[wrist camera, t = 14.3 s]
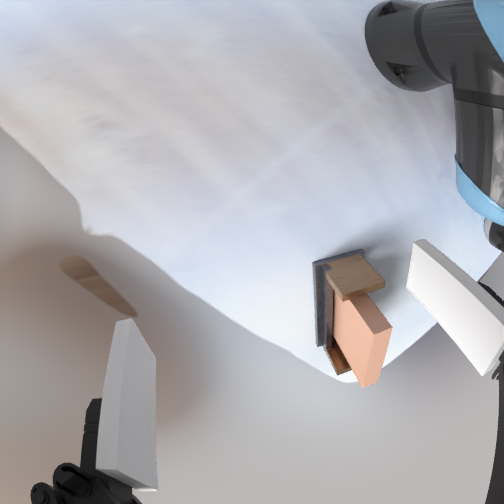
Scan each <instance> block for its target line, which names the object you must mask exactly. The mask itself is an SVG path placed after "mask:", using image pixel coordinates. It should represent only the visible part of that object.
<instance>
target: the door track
mask: <svg viewBox="0 0 504 504" xmlns="http://www.w3.org/2000/svg"><path fill="white" fill-rule="evenodd" d="M312 265H313V281H314V301H315V327H316V345H317V347H319V346H323V348H324V350H325V352H326V354H327V356H328V358H329V360H330V362H331V364H332V366H333V368H334V370H335V372H336V374H337V375H340V374H342V373H345V372H348V371H350V370H352V368H351V367H350V365H349V363H348V361H347V359H346V357H345V356H344V354H343V352H342V350H341V348H340V347H339V345H338V343H337V341H336V339H335V338H334V336H333V334H332V321H333V289H334V290H335V292H336V293H337V295H338V296H339V298H340V299H341V300H342V302H343V301H346V300H349V299H352V298H355V297H358V296H361V295H364V294H367V293H370V292H373V291H376V290H378V289H381V288H384V286H385V280H384V279H383V278H382V277H381V276H380V275H379V274H378V273H377V272H376V270H375V269H374V268H373V267H372V266H371V265H370V264H369V263H368V262H367V261H366V260H365V259H364V251H363V250H362V249H359V250H356V251H352V252H349V253H346V254H342V255H338V256H335V257H331V258H328V259H324V260H321V261H317V262H313V263H312Z"/></svg>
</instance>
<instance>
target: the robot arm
mask: <svg viewBox="0 0 504 504" xmlns="http://www.w3.org/2000/svg"><path fill="white" fill-rule="evenodd" d="M365 39H366V44H367V48H368V51H369V53H370V56H371V58H372V60H373V62H374V63H375V65H376V67H377V68H378V69H379V71H380V72H381V73H382V74H383V76H384V77H385V78H386V79H388V80H389V81H390V82H391V83H392V84H394V85H396V86H397V87H399V88H402V89H404V90H409V91H419V92H422V91H429V90H432V89H434V88H437V87H440V86H443V85H446V84H448V83H452V85H453V93H454V104H455V120H456V154H455V163H456V184H457V188H458V191H459V193H460V195H461V196H462V198H463V199H464V200H465V201H466V203H467V204H468V205H469V206H470V207H471V208H472V209H474V210H475V211H476V212H477V213H479V214H480V215H482V216H483V217H485V218H487V219H489V220H491V221H492V222H495V223H497V224H499V225H502V226H504V0H445V1H439V2H433V3H428V4H423V3H417V2H411V1H405V0H391V1H387V2H384V3H381V4H379V5H377V6H375V7H374V8H373V9H372V10H371V11H370V13H369V15H368V17H367V20H366V24H365ZM406 288H407V289H408V290H409V291H410V292H411V293H412V294H413V295H414V296H415V297H416V298H417V299H418V300H419V302H420V303H421V304H422V305H423V306H424V307H425V308H426V309H427V310H428V311H429V313H430V314H431V315H432V316H433V317H434V318H435V319H436V321H437V322H438V323H439V324H440V325H441V326H442V327H443V329H444V330H445V331H446V332H447V333H448V334H449V336H450V337H451V338H452V339H453V340H454V342H455V343H456V344H457V345H458V346H459V348H460V349H461V350H462V351H463V353H464V354H465V355H466V356H467V357H468V359H469V360H470V361H471V363H472V364H473V365H474V366H475V368H476V369H477V370H478V372H479V373H480V374H481V376H483V375H484V374H485V373H487V372H488V371H489V370H491V369H492V368H493V366H494V365H495V363H496V362H497V360H498V359H499V360H500V362H501V363H500V364H499V366H498V367H497V369H496V370H495V372H494V373H493V375H492V379H494V378H495V376H496V375H497V374H498V372H499V375H498V376H497V378H496V379H497V380H499V417H498V431H497V442H496V450H495V457H494V464H493V470H492V475H491V480H490V485H489V490H488V494H487V498H486V502H485V504H504V301H502V299H501V298H500V297H499V296H498V295H496V293H495V292H494V291H493V290H492V289H491V288H490V287H488V286H486V285H484V284H482V283H480V282H478V283H477V282H476V281H475V280H474V279H472V278H471V277H470V276H469V275H468V274H467V273H466V272H465V271H463V270H462V269H461V268H460V267H459V266H457V265H456V264H455V263H454V262H453V261H452V260H450V259H449V258H448V257H447V256H445V255H444V254H443V253H442V252H441V251H439V250H438V249H437V248H436V247H434V246H433V245H432V244H430V243H429V242H428V241H427V240H425V239H422V240H419V241H416V242H413V248H412V255H411V261H410V267H409V273H408V279H407V284H406ZM155 382H156V358H155V356H154V355H153V353H152V351H151V350H150V348H149V347H148V345H147V343H146V342H145V340H144V338H143V336H142V335H141V333H140V331H139V330H138V328H137V326H136V325H135V323H134V321H133V319H132V318H131V319H126V320H122V321H117V322H116V326H115V330H114V335H113V340H112V345H111V350H110V356H109V361H108V366H107V372H106V378H105V384H104V390H103V397H102V398H99V399H92V401H91V403H90V405H89V407H88V408H87V411H86V418H85V423H86V424H85V425H84V434H83V442H82V451H81V452H82V453H81V463H80V467H78V466H76V465H74V464H72V463H63V464H61V465H59V466H58V467H57V468H56V469H55V471H54V474H53V485H54V486H53V487H52V486H50V485H48V484H46V483H43V482H41V483H37V484H35V485H34V486H33V488H32V490H31V502H32V504H142V503H141V502H140V501H139V500H138V499H137V498H136V497H135V496H134V495H133V494H132V488H135V489H137V490H139V491H158V478H157V462H156V437H155V436H156V435H155Z"/></svg>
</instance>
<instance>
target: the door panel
mask: <svg viewBox="0 0 504 504" xmlns="http://www.w3.org/2000/svg"><path fill="white" fill-rule="evenodd" d="M391 331H392V326H391V325H390V323H389V322H388V321H387V319H386V318H385V317H384V315H383V314H382V313H381V312H380V310H379V309H378V308H377V306H376V305H375V304H374V303H373V301H372V300H371V299H370V297H369V296H368V295H367V294H364V295H361V296H358V297H355V298H352V299H349V300H346V301H343V302H342V300H341V299H340V298H339V296H338V295H337V293H336V292H335V290H334V289H333V321H332V334H333V336H334V338H335V339H336V341H337V343H338V345H339V347H340V348H341V350H342V352H343V354H344V356H345V357H346V359H347V361H348V363H349V365H350V367H351V368H352V370H353V372H354V374H355V376H356V378H357V379H358V381H359V383H360V385H361V387H362V388H363V387H366V386H368V385H371V384H373V383H375V382H377V381H378V379H379V375H380V371H381V369H382V365H383V362H384V358H385V355H386V351H387V347H388V343H389V339H390V335H391Z"/></svg>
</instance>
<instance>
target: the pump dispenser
mask: <svg viewBox="0 0 504 504" xmlns="http://www.w3.org/2000/svg"><path fill="white" fill-rule="evenodd" d="M484 232H485V235H486V237H487V239H488V240H489V242H490V244H491V245H492V246H494V247H495V248H497V249H499V250H501V251H503V252H504V226H502V225H499V224H497V223H495V222H492V221H491V220H489V219H487V218H485V222H484Z"/></svg>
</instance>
